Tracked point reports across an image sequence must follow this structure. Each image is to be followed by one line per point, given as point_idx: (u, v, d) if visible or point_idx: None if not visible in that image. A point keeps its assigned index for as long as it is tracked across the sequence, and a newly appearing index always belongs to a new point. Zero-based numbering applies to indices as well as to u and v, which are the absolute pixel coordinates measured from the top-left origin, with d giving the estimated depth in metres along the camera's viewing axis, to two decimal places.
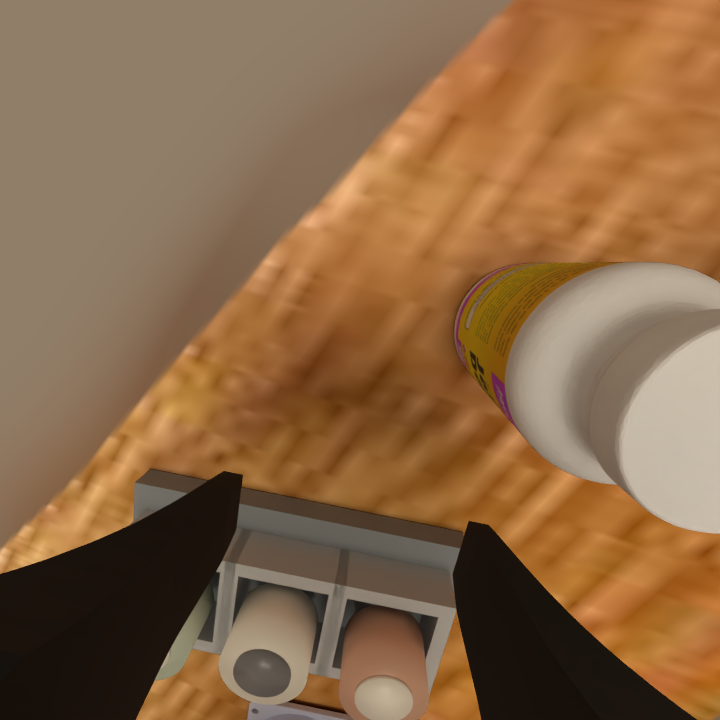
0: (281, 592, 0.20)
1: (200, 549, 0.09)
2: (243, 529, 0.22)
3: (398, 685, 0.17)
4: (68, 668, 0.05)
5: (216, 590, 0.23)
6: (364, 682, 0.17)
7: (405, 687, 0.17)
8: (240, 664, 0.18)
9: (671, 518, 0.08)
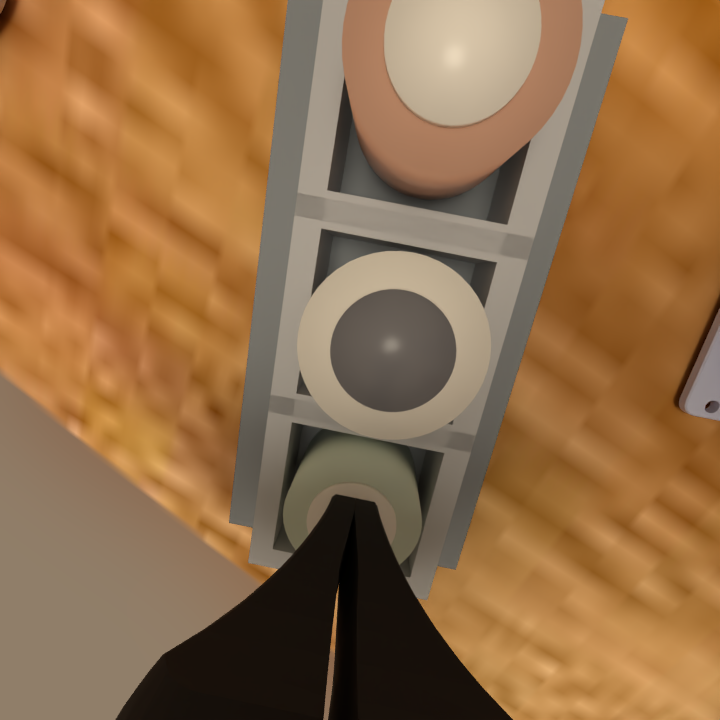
0: None
1: (338, 578, 0.09)
2: None
3: None
4: None
5: None
6: (401, 98, 0.07)
7: None
8: (365, 394, 0.08)
9: None
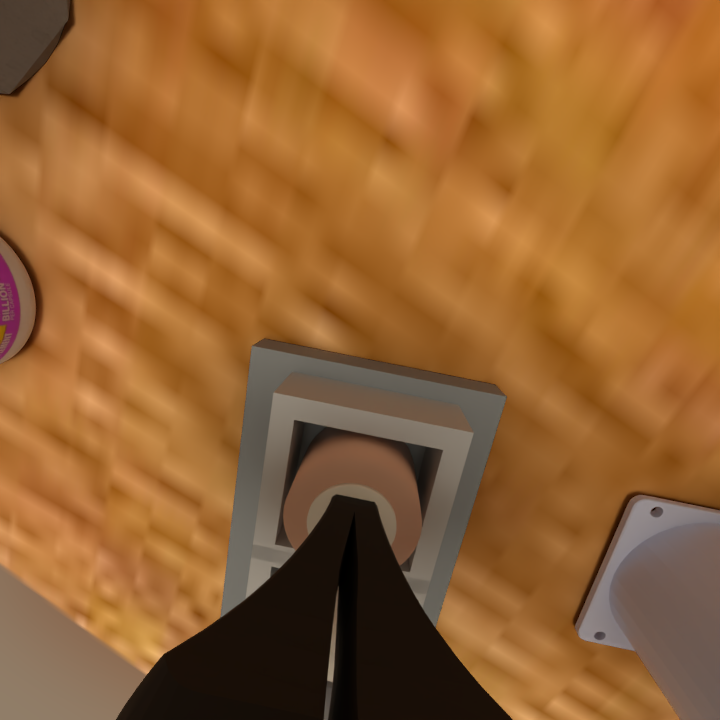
0: None
1: (338, 578, 0.09)
2: None
3: (315, 505, 0.11)
4: None
5: None
6: None
7: (320, 497, 0.11)
8: None
9: None
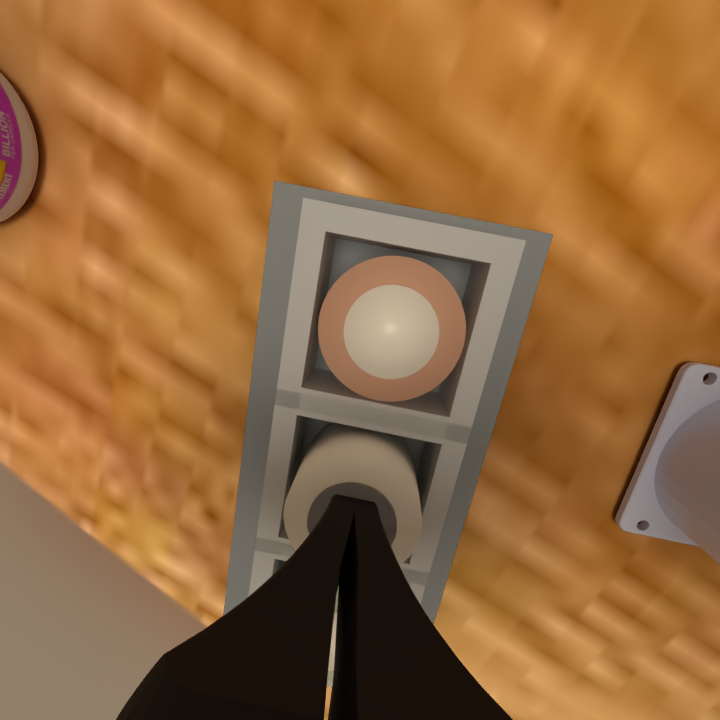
0: None
1: (338, 578, 0.09)
2: None
3: (354, 309, 0.11)
4: None
5: None
6: (355, 362, 0.11)
7: (358, 298, 0.10)
8: None
9: None
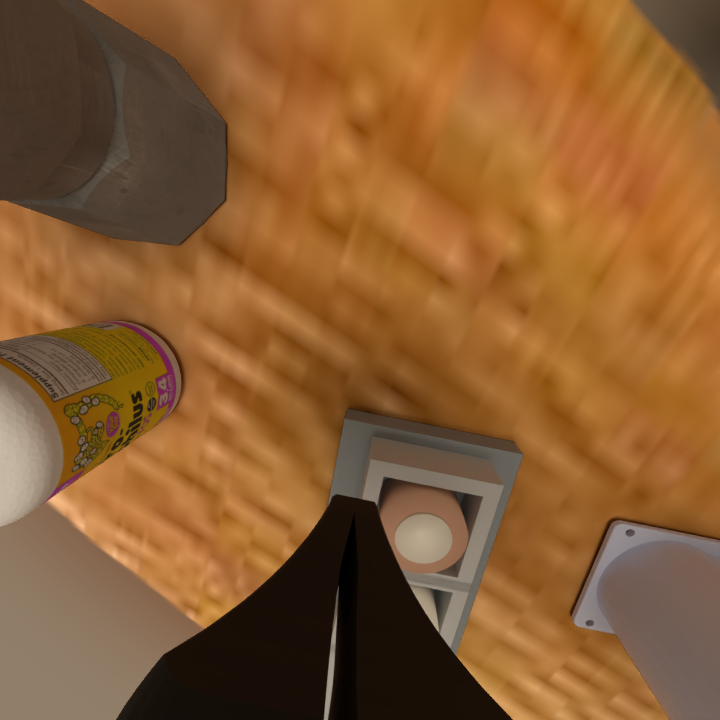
0: None
1: (338, 578, 0.09)
2: None
3: (401, 526, 0.18)
4: None
5: None
6: (401, 553, 0.18)
7: (404, 521, 0.18)
8: None
9: None
